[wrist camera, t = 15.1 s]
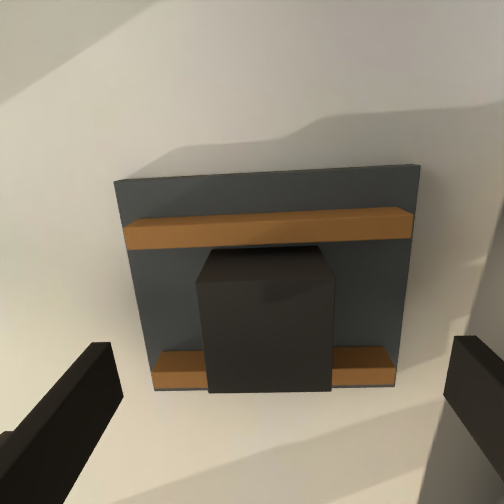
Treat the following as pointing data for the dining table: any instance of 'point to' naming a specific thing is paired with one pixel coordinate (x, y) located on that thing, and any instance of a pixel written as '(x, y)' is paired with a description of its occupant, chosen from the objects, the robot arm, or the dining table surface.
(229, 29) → the dining table surface
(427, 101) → the dining table surface
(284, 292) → the black pad
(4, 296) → the dining table surface
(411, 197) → the base pad
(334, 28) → the dining table surface
